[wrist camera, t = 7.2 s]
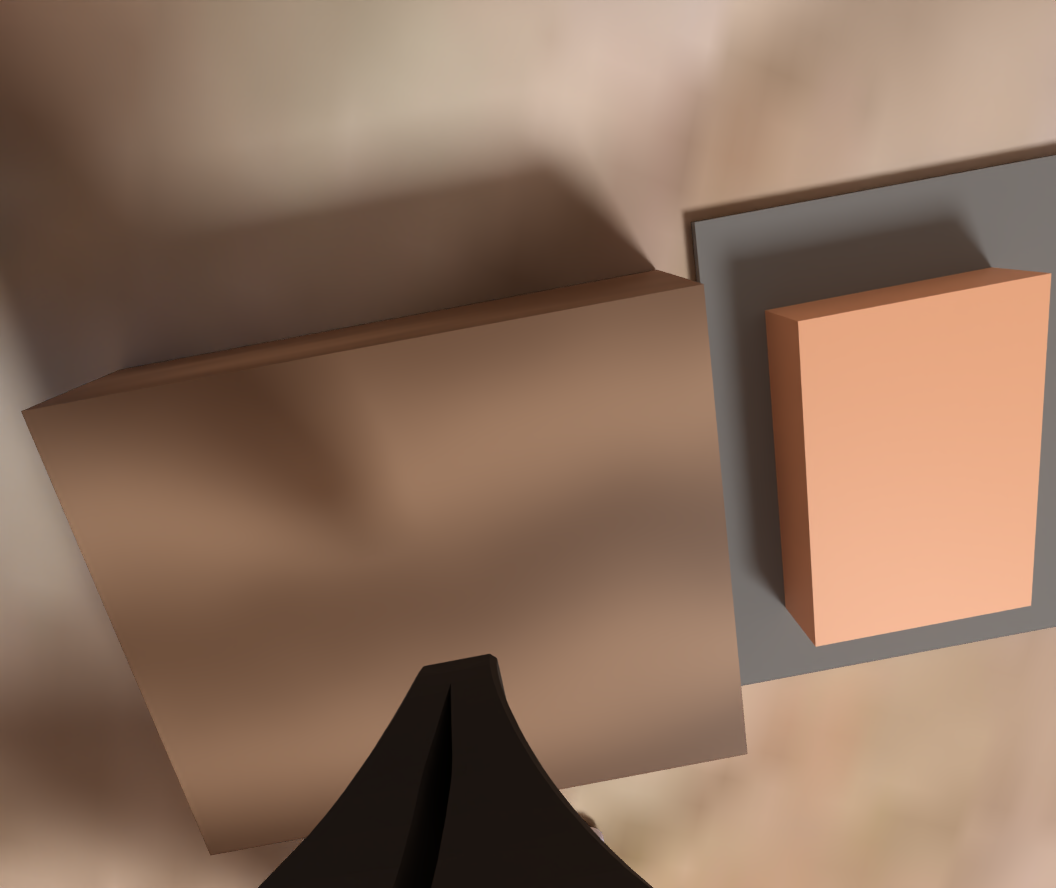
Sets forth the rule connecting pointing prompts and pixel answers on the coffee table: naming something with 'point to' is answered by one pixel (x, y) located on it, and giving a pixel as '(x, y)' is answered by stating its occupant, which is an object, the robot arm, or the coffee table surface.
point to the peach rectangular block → (909, 450)
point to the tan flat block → (414, 540)
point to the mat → (835, 270)
